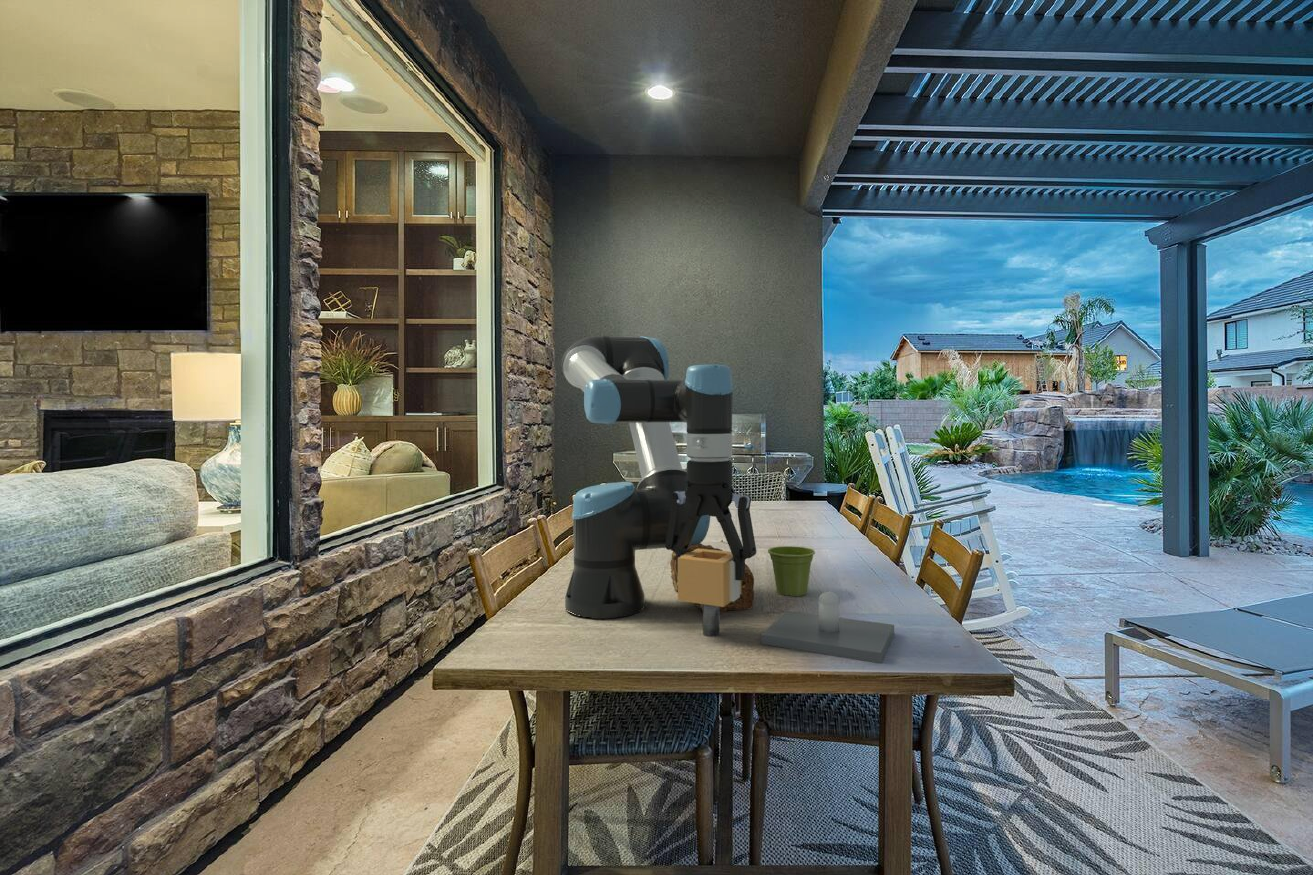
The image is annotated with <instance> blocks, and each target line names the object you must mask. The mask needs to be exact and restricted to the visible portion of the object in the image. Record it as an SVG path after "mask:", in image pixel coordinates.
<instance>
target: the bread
mask: <svg viewBox="0 0 1313 875" xmlns="http://www.w3.org/2000/svg"><path fill="white" fill-rule="evenodd" d="M688 549H689V550H688V551H686V553H687V552H688V553H689V552H691V551H694V550H696V549H708V550H718V551H724V550H723V549H721V548H716V547H713V546H712V545H710V544H708V545H705V544H703V543H702V542H701V543H700V544H697V545H691V546H689V547H688ZM669 564H670V574H671V576H670V578H671V580H672V586H673V589H674V591H675V592H678V573H677V571H676V554H675V552H674V551H672V553H671V560H670V562H669ZM754 586H755V577H754V574H753V572H752V571H751V569H750V567H749V566H748V565H747V564H746V563H745V577H744V579H743V580H741V595H740V597H739V598H738V599H737V600H735V601H734V602H733V601H731V602H730V603H728V604H727V605H726V606H724V607H720V606H719V612H720V614H721V613H725V612H726V611H727V610H728V611H742V610H749V609H752V607H753V606H754V599H755V590H754ZM690 604H692V605H693V606H694V607H697V608H699V609H702V610H703V606H702V604H699V603H692V602H690Z"/></svg>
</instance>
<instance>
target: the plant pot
mask: <svg viewBox="0 0 1313 875" xmlns="http://www.w3.org/2000/svg"><path fill="white" fill-rule="evenodd" d="M767 553H768V554H769V556H770V560H771V561H772V569H773V570H772V571H773V575H774V581H775V588H776V590H775V591H776V593H777V594H780V595H782V596H787V595H791V596H792V597H801V596H805V595H807V593H808V589H809V580H810V572H811V566H812V561H813V558H814V555H816V551H815V550H814V549H813V548H809V547H803V546H792V545H791V546H787V545H786V546H775V547H770V548H769V549H767Z"/></svg>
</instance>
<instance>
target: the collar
mask: <svg viewBox="0 0 1313 875" xmlns="http://www.w3.org/2000/svg"><path fill="white" fill-rule="evenodd" d="M732 559H734V557H733V555H732V552H731V551H727V550H723V551H718V550H708V549H696V550H694V551H691V552H689V553H687V554H685V555H683V556H681V557H679V558H678V591H677V601H678V602H686V603H691V602H692V603H699V604H706V605H713V606H720V607H724V606H726V605H727V604H728V603H730V602H731V601H730V580H729V561H731V560H732ZM740 595H741V581H740ZM692 603H691V604H692Z"/></svg>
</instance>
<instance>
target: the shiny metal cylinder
mask: <svg viewBox="0 0 1313 875" xmlns="http://www.w3.org/2000/svg"><path fill="white" fill-rule="evenodd" d="M702 606H703V609H702V635H703V636H706V637H718V636H719V635H721V634H720V633H721V631H720V630H721V629H720V628H721V626H720V625H721V624H720V620H721V619H720V614H721V613H720V612H719V606H713V605H706V604H702Z"/></svg>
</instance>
